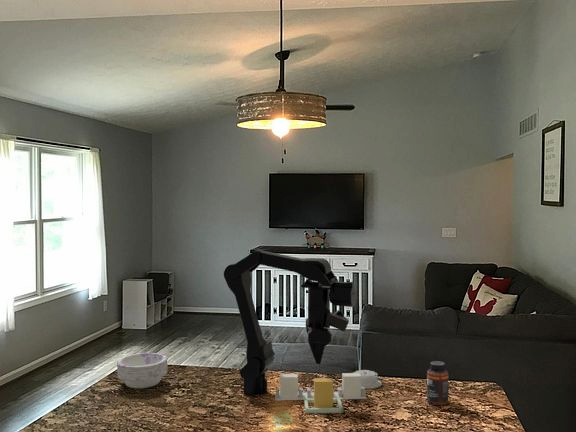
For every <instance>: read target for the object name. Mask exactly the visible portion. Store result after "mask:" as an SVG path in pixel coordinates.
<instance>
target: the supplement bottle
mask: <svg viewBox="0 0 576 432" xmlns="http://www.w3.org/2000/svg"><path fill="white" fill-rule="evenodd" d="M429 367H430V368H429V369H427V372H426V383H427V384H426V400H427V403H429V404H431V405H433V406H445V405H447V404H449V398H450V397H449V379H450V378H449V371H448V370H447V369H446V364H445V362H444V361H439V360H437V361H436V360H434V361H431V362H430V366H429Z"/></svg>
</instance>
